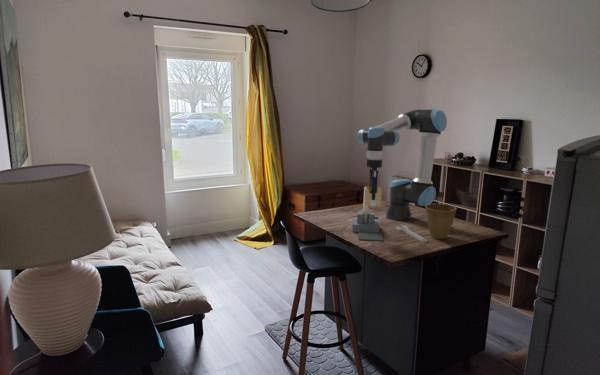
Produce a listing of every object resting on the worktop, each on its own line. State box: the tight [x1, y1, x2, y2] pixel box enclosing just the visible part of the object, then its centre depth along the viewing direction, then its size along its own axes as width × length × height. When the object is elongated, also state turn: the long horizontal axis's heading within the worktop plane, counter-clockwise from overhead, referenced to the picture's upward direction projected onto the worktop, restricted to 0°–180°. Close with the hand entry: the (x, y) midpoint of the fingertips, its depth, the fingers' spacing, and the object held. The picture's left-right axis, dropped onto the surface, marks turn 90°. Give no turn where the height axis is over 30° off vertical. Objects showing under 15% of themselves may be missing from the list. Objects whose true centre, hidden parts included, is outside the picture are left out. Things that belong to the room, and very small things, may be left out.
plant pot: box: [424, 203, 458, 240], centre depth 198 cm, size 15×15×16 cm
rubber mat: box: [357, 232, 385, 242], centre depth 198 cm, size 12×11×1 cm
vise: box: [351, 199, 380, 233], centre depth 209 cm, size 14×11×17 cm
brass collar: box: [363, 186, 383, 207], centre depth 194 cm, size 8×8×8 cm
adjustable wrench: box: [396, 224, 428, 244], centre depth 203 cm, size 25×6×2 cm, turn 12°
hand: (372, 203), depth 195 cm, fingers closed on brass collar, 8 cm apart
